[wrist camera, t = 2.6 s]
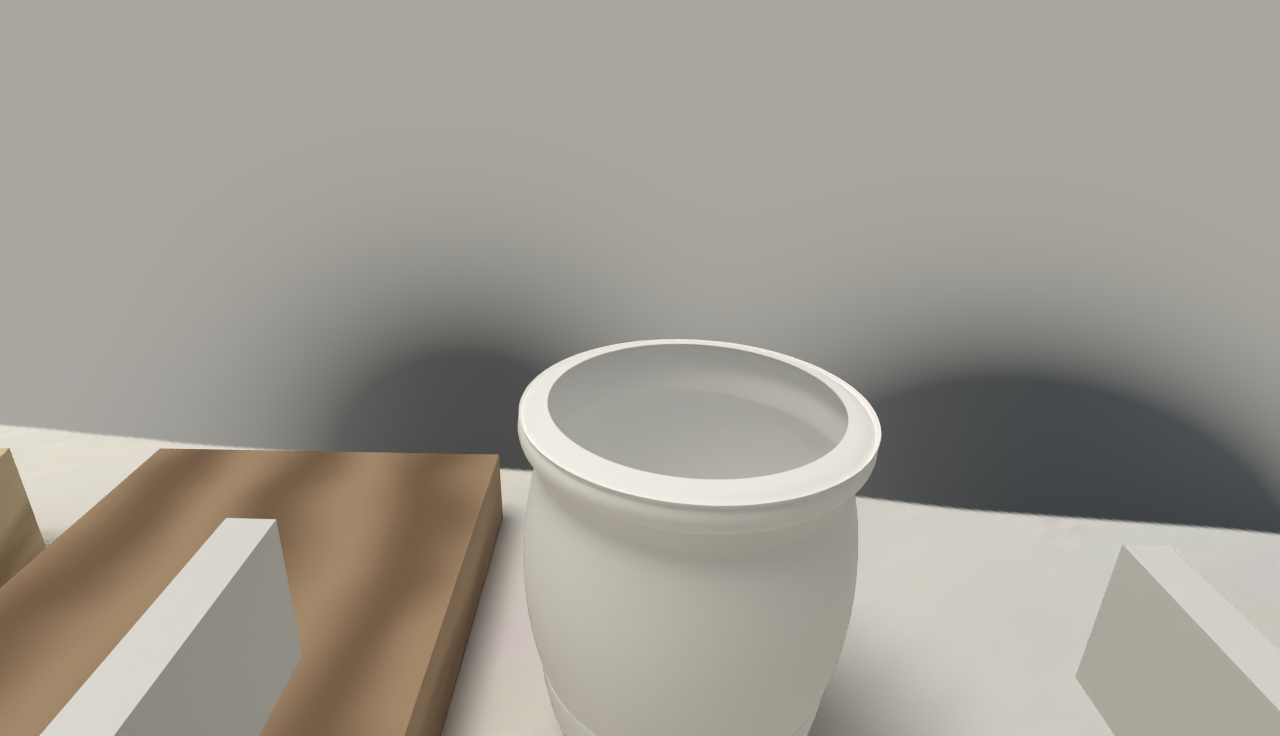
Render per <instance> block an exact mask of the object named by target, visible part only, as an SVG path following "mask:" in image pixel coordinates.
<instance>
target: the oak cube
mask: <svg viewBox="0 0 1280 736" xmlns="http://www.w3.org/2000/svg"><path fill="white" fill-rule="evenodd" d="M45 549H46V546H45V543H44V541H43V538H42V535H41V533H40V530H39V527H38V524H37V522H36V519H35V516H34V514H33V511H32V508H31V505H30V503H29V500H28V497H27V495H26V492H25V489H24V486H23V484H22V481H21V478H20V476H19V473H18V470H17V467H16V465H15V462H14V459H13V457H12V454H11V451H10V449H9V448H5V449H0V588H1V587H2V586H3V585H4V584H6V583H7V582H8V581H9V580H10V579H11V578H12V577H14V576H15V575H16V574H17V573H18V572H19V571H20V570H22V569H23V568H24V567H25V566H26V565H27V564H29V563H30V562H31V561H32V560H33V559H34V558H35V557H37V556H38V555H39V554H40V553H41V552H42V551H43V550H45Z"/></svg>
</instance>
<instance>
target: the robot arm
mask: <svg viewBox="0 0 1280 736" xmlns="http://www.w3.org/2000/svg"><path fill="white" fill-rule="evenodd" d="M301 657H302V652H301V647H300V641H299V636H298V631H297V626H296V620H295V615H294V610H293V605H292V599H291V594H290V589H289V584H288V578H287V573H286V568H285V563H284V557H283V552H282V547H281V542H280V536H279V531H278V526H277V521H276V519H247V518H226V519H225V520H224V521H223V522H222V523H221V524H220V526H219V527H218V528H217V529H216V530H215V531H214V533H213V534H212V535H211V536H210V537H209V538H208V540H207V541H206V542H205V543H204V544H203V545H202V547H201V548H200V549H199V550H198V551H197V552H196V554H195V555H194V556H193V557H192V558H191V559H190V561H189V562H188V563H187V564H186V565H185V566H184V568H183V569H182V570H181V571H180V572H179V573H178V575H177V576H176V577H175V578H174V579H173V580H172V582H171V583H170V584H169V585H168V586H167V587H166V589H165V590H164V591H163V592H162V593H161V594H160V596H159V597H158V598H157V599H156V600H155V601H154V603H153V604H152V605H151V606H150V607H149V608H148V610H147V611H146V612H145V613H144V614H143V615H142V617H141V618H140V619H139V620H138V621H137V622H136V624H135V625H134V626H133V627H132V628H131V629H130V631H129V632H128V633H127V634H126V635H125V636H124V638H123V639H122V640H121V641H120V642H119V643H118V645H117V646H116V647H115V648H114V649H113V650H112V652H111V653H110V654H109V655H108V656H107V657H106V659H105V660H104V661H103V662H102V663H101V664H100V666H99V667H98V668H97V669H96V670H95V671H94V673H93V674H92V675H91V676H90V677H89V678H88V680H87V681H86V682H85V683H84V684H83V685H82V687H81V688H80V689H79V690H78V691H77V692H76V694H75V695H74V696H73V697H72V698H71V699H70V701H69V702H68V703H67V704H66V705H65V706H64V708H63V709H62V710H61V711H60V712H59V713H58V715H57V716H56V717H55V718H54V719H53V720H52V722H51V723H50V724H49V725H48V726H47V727H46V729H45V730H44V731H43V732H42V733H41V734H40V736H259V734H260V733H261V731H262V729H263V727H264V725H265V723H266V722H267V720H268V718H269V716H270V714H271V712H272V711H273V709H274V707H275V705H276V703H277V701H278V700H279V698H280V696H281V694H282V692H283V690H284V689H285V687H286V685H287V683H288V681H289V679H290V677H291V676H292V674H293V672H294V670H295V668H296V666H297V665H298V663H299V661H300V659H301ZM1075 677H1076V679H1077V680H1078V682H1079V683H1080V685H1081V686H1082V688H1083V689H1084V690H1085V692H1086V693H1087V695H1088V696H1089V698H1090V699H1091V701H1092V702H1093V704H1094V705H1095V707H1096V708H1097V710H1098V711H1099V713H1100V714H1101V716H1102V717H1103V719H1104V720H1105V722H1106V723H1107V724H1108V726H1109V727H1110V729H1111V730H1112V732H1113V733H1114V735H1115V736H1280V650H1279V649H1278V648H1277V647H1275V646H1274V645H1273V644H1272V643H1271V642H1270V641H1269V640H1268V639H1267V638H1266V637H1265V636H1264V635H1263V634H1262V633H1261V632H1260V631H1259V630H1258V629H1257V628H1256V627H1255V626H1254V625H1253V624H1252V623H1251V622H1250V621H1249V620H1247V619H1246V618H1245V617H1244V616H1243V615H1242V614H1241V613H1240V612H1239V611H1238V610H1237V609H1236V608H1235V607H1234V606H1233V605H1232V604H1231V603H1230V602H1229V601H1228V600H1227V599H1226V598H1225V597H1224V596H1223V595H1222V594H1221V593H1220V592H1218V591H1217V590H1216V589H1215V588H1214V587H1213V586H1212V585H1211V584H1210V583H1209V582H1208V581H1207V580H1206V579H1205V578H1204V577H1203V576H1202V575H1201V574H1200V573H1199V572H1198V571H1197V570H1196V569H1195V568H1194V567H1193V566H1192V565H1190V564H1189V563H1188V562H1187V561H1186V560H1185V559H1184V558H1183V557H1182V556H1181V555H1180V554H1179V553H1178V552H1177V551H1176V550H1175V549H1174V548H1173V547H1172V546H1161V545H1127V544H1122V547H1121V550H1120V553H1119V556H1118V558H1117V561H1116V564H1115V567H1114V570H1113V572H1112V575H1111V578H1110V581H1109V584H1108V587H1107V589H1106V592H1105V595H1104V598H1103V601H1102V603H1101V606H1100V609H1099V612H1098V615H1097V617H1096V620H1095V623H1094V626H1093V629H1092V631H1091V634H1090V637H1089V640H1088V643H1087V645H1086V648H1085V651H1084V654H1083V657H1082V660H1081V662H1080V665H1079V668H1078V671H1077V674H1076V676H1075Z"/></svg>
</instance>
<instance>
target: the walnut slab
mask: <svg viewBox="0 0 1280 736" xmlns="http://www.w3.org/2000/svg"><path fill="white" fill-rule="evenodd" d="M226 518H247V519H276V521H277V526H278V531H279V536H280V542H281V547H282V552H283V557H284V563H285V568H286V573H287V578H288V584H289V589H290V594H291V599H292V605H293V610H294V615H295V620H296V626H297V631H298V636H299V641H300V647H301V652H302V657H301V659H300V661H299V663H298V665H297V666H296V668H295V670H294V672H293V674H292V676H291V677H290V679H289V681H288V683H287V685H286V687H285V689H284V690H283V692H282V694H281V696H280V698H279V700H278V701H277V703H276V705H275V707H274V709H273V711H272V712H271V714H270V716H269V718H268V720H267V722H266V723H265V725H264V727H263V729H262V731H261V733H260V734H259V736H441V732H442V729H443V725H444V722H445V718H446V715H447V711H448V708H449V704H450V701H451V697H452V694H453V690H454V687H455V683H456V680H457V676H458V673H459V669H460V666H461V662H462V659H463V655H464V652H465V648H466V645H467V641H468V637H469V634H470V630H471V627H472V623H473V620H474V616H475V613H476V609H477V606H478V602H479V599H480V595H481V592H482V588H483V585H484V581H485V578H486V574H487V571H488V567H489V564H490V560H491V557H492V553H493V550H494V546H495V543H496V539H497V536H498V532H499V529H500V525H501V522H502V518H503V513H502V498H501V482H500V467H499V455H482V454H481V455H480V454H428V453H423V454H422V453H374V452H373V453H372V452H369V453H368V452H318V451H264V450H209V449H159V450H158V451H157V452H156V453H155V454H154V455H152V456H151V457H150V458H149V459H148V460H147V461H145V462H144V463H143V464H142V465H141V466H140V467H139V468H137V469H136V470H135V471H134V472H133V473H132V474H131V475H129V476H128V477H127V478H126V479H125V480H124V481H123V482H121V483H120V484H119V485H118V486H117V487H116V488H115V489H113V490H112V491H111V492H110V493H109V494H108V495H106V496H105V497H104V498H103V499H102V500H101V501H100V502H98V503H97V504H96V505H95V506H94V507H93V508H92V509H90V510H89V511H88V512H87V513H86V514H85V515H84V516H82V517H81V518H80V519H79V520H78V521H77V522H76V523H74V524H73V525H72V526H71V527H70V528H69V529H67V530H66V531H65V532H64V533H63V534H62V535H61V536H59V537H58V538H57V539H56V540H55V541H54V542H53V543H51V544H50V545H49V546H48V547H47V548H46V549H45V550H43V551H42V552H41V553H40V554H39V555H38V556H37V557H35V558H34V559H33V560H32V561H31V562H30V563H29V564H27V565H26V566H25V567H24V568H23V569H22V570H20V571H19V572H18V573H17V574H16V575H15V576H14V577H12V578H11V579H10V580H9V581H8V582H7V583H6V584H4V585H3V586H2V587H1V588H0V736H40V734H41V733H42V732H43V731H44V730H45V729H46V727H47V726H48V725H49V724H50V723H51V722H52V720H53V719H54V718H55V717H56V716H57V715H58V713H59V712H60V711H61V710H62V709H63V708H64V706H65V705H66V704H67V703H68V702H69V701H70V699H71V698H72V697H73V696H74V695H75V694H76V692H77V691H78V690H79V689H80V688H81V687H82V685H83V684H84V683H85V682H86V681H87V680H88V678H89V677H90V676H91V675H92V674H93V673H94V671H95V670H96V669H97V668H98V667H99V666H100V664H101V663H102V662H103V661H104V660H105V659H106V657H107V656H108V655H109V654H110V653H111V652H112V650H113V649H114V648H115V647H116V646H117V645H118V643H119V642H120V641H121V640H122V639H123V638H124V636H125V635H126V634H127V633H128V632H129V631H130V629H131V628H132V627H133V626H134V625H135V624H136V622H137V621H138V620H139V619H140V618H141V617H142V615H143V614H144V613H145V612H146V611H147V610H148V608H149V607H150V606H151V605H152V604H153V603H154V601H155V600H156V599H157V598H158V597H159V596H160V594H161V593H162V592H163V591H164V590H165V589H166V587H167V586H168V585H169V584H170V583H171V582H172V580H173V579H174V578H175V577H176V576H177V575H178V573H179V572H180V571H181V570H182V569H183V568H184V566H185V565H186V564H187V563H188V562H189V561H190V559H191V558H192V557H193V556H194V555H195V554H196V552H197V551H198V550H199V549H200V548H201V547H202V545H203V544H204V543H205V542H206V541H207V540H208V538H209V537H210V536H211V535H212V534H213V533H214V531H215V530H216V529H217V528H218V527H219V526H220V524H221V523H222V522H223V521H224V520H225V519H226Z"/></svg>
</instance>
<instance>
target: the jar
mask: <svg viewBox="0 0 1280 736" xmlns="http://www.w3.org/2000/svg"><path fill="white" fill-rule="evenodd" d="M518 434H519V439H520V443H521V446H522V449H523V451H524V453H525V455H526V457H527V459H528V460H529V462H530V463H531V465H532V466H533V468H534V470H533V474H532V478H531V483H530V488H529V494H528V501H527V509H526V518H525V531H524V578H525V590H526V599H527V606H528V612H529V618H530V623H531V627H532V632H533V636H534V639H535V643H536V646H537V650H538V653H539V656H540V659H541V662H542V664H543V671H544V677H545V682H546V686H547V690H548V694H549V698H550V701H551V704H552V707H553V710H554V713H555V716H556V718H557V721H558V723H559V726H560V728H561V730H562V732H563V734H564V736H807V735H808V733H809V730H810V728H811V726H812V724H813V721H814V719H815V716H816V713H817V711H818V708H819V705H820V702H821V698H822V695H823V693H824V691H825V689H826V687H827V685H828V683H829V681H830V679H831V676H832V674H833V672H834V669H835V667H836V664H837V661H838V659H839V656H840V653H841V650H842V647H843V644H844V640H845V637H846V633H847V629H848V625H849V621H850V616H851V611H852V606H853V600H854V593H855V586H856V576H857V561H858V519H857V507H856V499H855V493H856V492H857V491H858V490H859V489H860V488H861V487H862V486H863V485H864V483H865V482H866V481H867V479H868V477H869V476H870V474H871V472H872V470H873V467H874V465H875V462H876V457H877V449H878V447H879V444H880V440H881V427H880V423H879V419H878V417H877V415H876V413H875V411H874V409H873V408H872V407H871V405H870V404H869V402H868V401H867V400H866V399H865V398H864V397H863V396H862V395H861V394H860V393H859V392H858V391H857V390H855V389H854V388H853V387H852V386H850V385H849V384H847V383H846V382H844V381H843V380H841V379H840V378H838V377H836V376H835V375H833V374H831V373H829V372H827V371H825V370H823V369H821V368H819V367H816V366H814V365H812V364H810V363H807V362H805V361H802V360H799V359H796V358H793V357H790V356H787V355H784V354H781V353H777V352H773V351H769V350H765V349H761V348H756V347H751V346H746V345H740V344H734V343H727V342H717V341H707V340H690V339H688V340H687V339H663V340H646V341H635V342H627V343H621V344H615V345H610V346H605V347H601V348H596V349H593V350H589V351H586V352H583V353H580V354H577V355H574V356H572V357H569V358H567V359H565V360H562V361H560V362H559V363H556V364H554V365H553V366H551V367H549V368H548V369H546V370H545V371H543V372H542V373H541V374H539V375H538V376H537V377H536V378H535V379H534V380H533V381H532V382H531V383H530V384H529V385H528V387H527V388H526V390H525V391H524V393H523V395H522V397H521V400H520V404H519V418H518Z"/></svg>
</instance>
